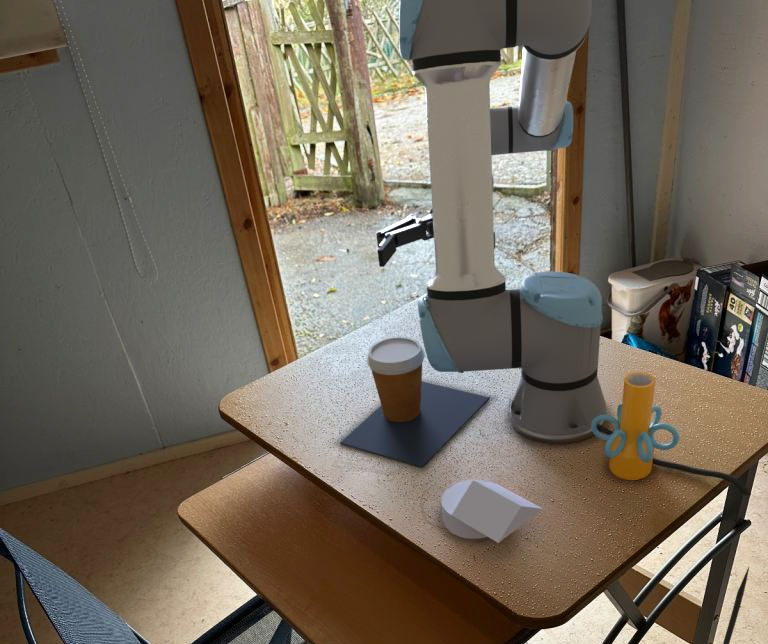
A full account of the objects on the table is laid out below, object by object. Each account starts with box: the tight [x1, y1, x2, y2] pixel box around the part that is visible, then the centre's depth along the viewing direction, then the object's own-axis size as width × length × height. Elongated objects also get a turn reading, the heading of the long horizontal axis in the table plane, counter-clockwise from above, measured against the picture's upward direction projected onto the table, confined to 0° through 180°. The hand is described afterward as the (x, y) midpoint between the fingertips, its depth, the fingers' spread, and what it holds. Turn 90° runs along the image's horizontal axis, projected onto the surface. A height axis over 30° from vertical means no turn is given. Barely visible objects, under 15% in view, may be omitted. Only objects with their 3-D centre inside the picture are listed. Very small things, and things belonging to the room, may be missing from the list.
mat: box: [339, 381, 490, 469], centre depth 130 cm, size 16×22×1 cm
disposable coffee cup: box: [366, 336, 426, 422], centre depth 129 cm, size 10×10×12 cm
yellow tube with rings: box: [591, 371, 680, 481], centre depth 109 cm, size 12×10×15 cm
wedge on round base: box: [441, 478, 544, 544], centre depth 106 cm, size 9×7×13 cm
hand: (421, 259), depth 122 cm, fingers open, 13 cm apart
